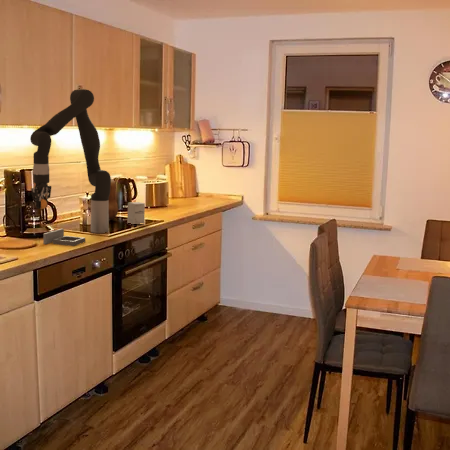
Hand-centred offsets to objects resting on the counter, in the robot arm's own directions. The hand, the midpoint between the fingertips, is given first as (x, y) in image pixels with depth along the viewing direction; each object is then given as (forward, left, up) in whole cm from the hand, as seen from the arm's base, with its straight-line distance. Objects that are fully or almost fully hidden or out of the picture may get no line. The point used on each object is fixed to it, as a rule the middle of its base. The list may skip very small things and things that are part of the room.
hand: (41, 207), depth 294 cm
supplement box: (-64, +21, -16) cm, 69 cm away
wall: (+2, +8, -16) cm, 18 cm away
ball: (0, 0, +2) cm, 2 cm away
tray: (+2, +16, -16) cm, 23 cm away
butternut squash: (-66, +1, -16) cm, 68 cm away
